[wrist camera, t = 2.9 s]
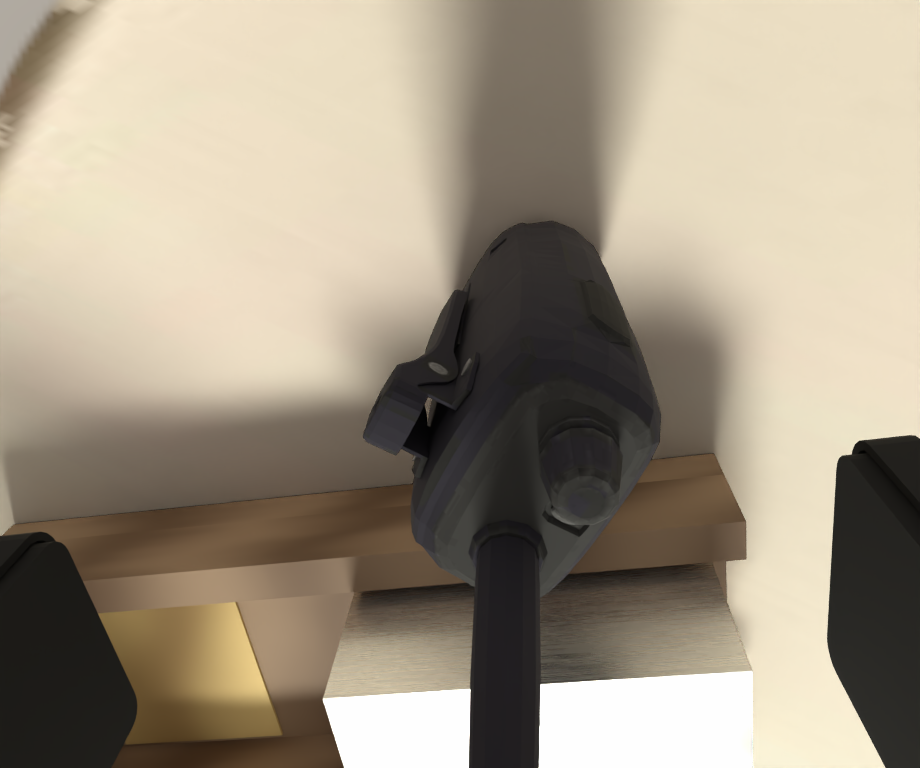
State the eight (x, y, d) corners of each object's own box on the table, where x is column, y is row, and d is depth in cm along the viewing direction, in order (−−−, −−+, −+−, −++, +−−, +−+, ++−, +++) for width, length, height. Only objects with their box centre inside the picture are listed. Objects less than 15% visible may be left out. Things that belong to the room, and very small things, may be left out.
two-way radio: (525, 406, 22) (538, 976, 9) (390, 338, 22) (179, 837, 8) (627, 243, 20) (856, 667, 7) (480, 163, 20) (395, 447, 6)
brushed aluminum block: (699, 526, 22) (752, 671, 17) (706, 712, 25) (753, 882, 20) (364, 556, 23) (322, 698, 18) (409, 730, 26) (383, 893, 21)
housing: (714, 453, 23) (763, 557, 18) (721, 708, 27) (762, 845, 22) (13, 524, 26) (-96, 629, 21) (118, 744, 30) (45, 871, 25)
